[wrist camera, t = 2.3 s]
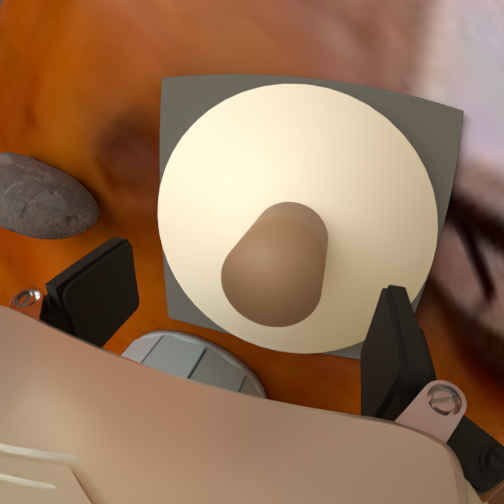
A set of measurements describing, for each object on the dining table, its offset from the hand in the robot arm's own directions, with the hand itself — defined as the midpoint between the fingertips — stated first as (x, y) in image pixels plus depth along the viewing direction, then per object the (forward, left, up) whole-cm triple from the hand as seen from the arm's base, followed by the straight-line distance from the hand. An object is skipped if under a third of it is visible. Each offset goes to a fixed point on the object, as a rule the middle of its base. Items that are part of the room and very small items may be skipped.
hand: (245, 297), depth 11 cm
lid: (-1, 0, -8) cm, 8 cm away
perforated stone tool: (+19, -1, -8) cm, 21 cm away
